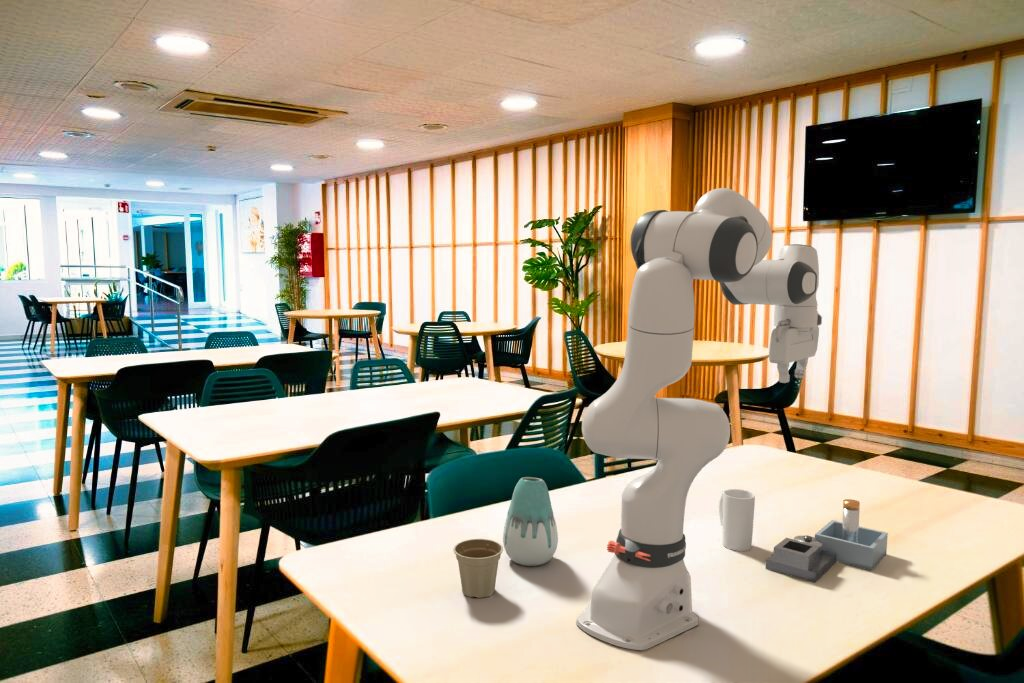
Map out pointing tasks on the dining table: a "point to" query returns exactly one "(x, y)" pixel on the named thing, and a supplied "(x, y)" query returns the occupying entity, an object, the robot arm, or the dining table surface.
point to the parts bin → (854, 545)
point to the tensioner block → (801, 558)
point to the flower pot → (478, 566)
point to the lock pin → (850, 520)
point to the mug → (737, 518)
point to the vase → (530, 524)
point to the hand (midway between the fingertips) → (792, 380)
